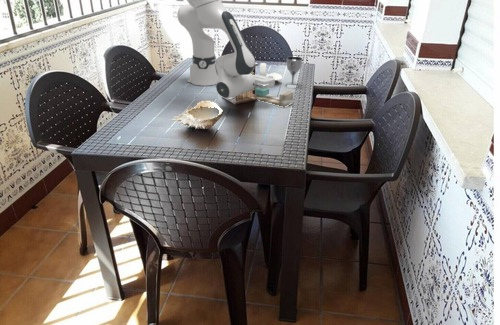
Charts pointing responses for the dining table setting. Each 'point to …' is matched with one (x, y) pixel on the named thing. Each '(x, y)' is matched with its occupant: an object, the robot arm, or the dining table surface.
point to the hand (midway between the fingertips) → (263, 76)
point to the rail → (281, 101)
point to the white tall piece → (262, 72)
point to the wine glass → (294, 65)
